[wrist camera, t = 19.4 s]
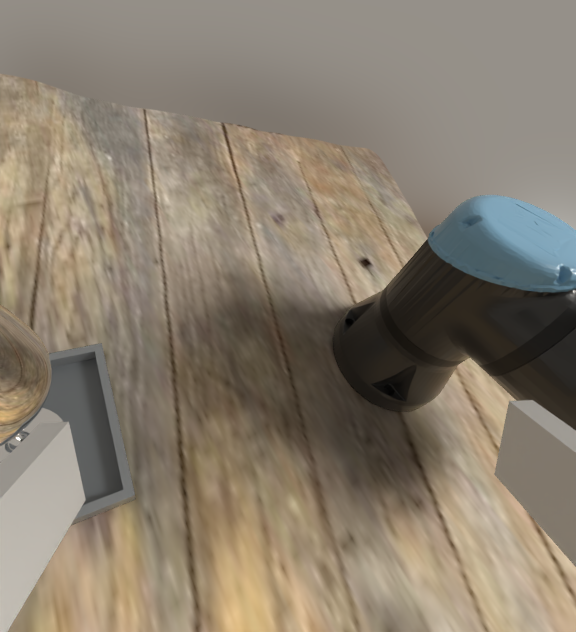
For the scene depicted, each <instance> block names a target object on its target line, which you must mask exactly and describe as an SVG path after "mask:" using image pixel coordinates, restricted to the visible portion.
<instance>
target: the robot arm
mask: <svg viewBox="0 0 576 632" xmlns="http://www.w3.org/2000/svg"><path fill="white" fill-rule="evenodd" d="M333 347H334V353H335V357H336V360H337V363H338V365H339V367H340V370H341V371H342V373H343V375H344V376H345V378H346V379H347V381H348V382H349V383H350V384H351V386H352V387H353V388H354V389H355V390H356V391H357V392H358V393H360V394H361V395H362V396H363V397H364V398H366V399H367V400H369V401H370V402H372V403H374V404H376V405H378V406H380V407H382V408H385V409H388V410H392V411H400V412H405V411H412V410H415V409H418V408H420V407H422V406H423V405H425V404H427V403H428V402H430V401H432V400H433V399H434V398H435V397H436V396H438V394H439V393H440V392H441V391H442V389H443V388H444V386H445V384H446V383H447V381H448V380H449V378H450V377H451V375H452V374H453V372H454V371H455V369H456V367H457V366H458V365H459V364H460V363H462V362H463V361H465V360H466V359H468V358H471V359H472V360H474V361H475V362H476V363H477V364H478V365H479V366H480V367H481V368H482V369H483V370H485V371H486V372H487V373H488V374H489V375H490V376H491V377H492V378H493V379H494V380H495V381H496V382H497V383H498V384H499V385H501V386H502V387H503V388H504V389H505V390H506V391H507V392H508V393H509V394H510V395H511V396H512V397H513V398H514V399H515V400H516V401H509V404H508V409H507V414H506V419H505V424H504V429H503V434H502V439H501V444H500V449H499V454H498V459H497V464H496V469H495V476H496V477H497V478H498V479H499V480H500V481H501V482H502V484H503V485H504V486H505V487H506V488H507V489H508V490H509V491H510V493H511V494H512V495H513V496H514V497H515V498H516V499H517V501H518V502H519V503H520V504H521V505H522V506H523V507H524V509H525V510H526V511H527V512H528V513H529V514H530V515H531V516H532V518H533V519H534V520H535V521H536V522H537V523H538V524H539V526H540V527H541V528H542V529H543V530H544V531H545V532H546V534H547V535H548V536H549V537H550V538H551V539H552V540H553V541H554V543H555V544H556V545H557V546H558V547H559V548H560V549H561V551H562V552H563V553H564V554H565V555H566V556H567V557H568V559H569V560H570V561H571V562H572V563H573V564H574V565H575V566H576V230H574V229H573V228H572V227H571V226H569V225H568V224H566V223H565V222H563V221H562V220H560V219H559V218H557V217H555V216H554V215H552V214H550V213H548V212H546V211H545V210H542V209H541V208H538V207H536V206H534V205H531V204H529V203H526V202H523V201H520V200H517V199H514V198H510V197H505V196H498V195H482V196H476V197H473V198H471V199H468V200H466V201H464V202H463V203H461V204H460V205H459V206H458V207H456V209H455V210H454V211H453V212H452V213H451V214H450V215H449V216H448V217H447V218H446V219H445V220H444V221H443V222H442V223H441V224H440V225H438V226H436V227H435V228H434V229H433V230H432V231H431V232H430V234H429V237H428V239H427V240H426V242H425V243H424V244H423V245H422V246H421V247H420V249H419V250H418V251H417V252H416V253H415V254H414V256H413V257H412V258H411V259H410V260H409V261H408V263H407V264H406V265H405V266H404V267H403V268H402V269H401V270H400V272H399V273H398V274H397V275H396V276H395V277H394V278H393V280H392V281H391V282H390V283H389V284H388V285H387V287H386V288H385V289H384V290H383V291H381V292H379V293H377V294H375V295H373V296H371V297H369V298H367V299H365V300H363V301H361V302H359V303H357V304H355V305H354V306H353V307H351V308H350V309H349V310H348V311H347V312H346V313H345V315H344V316H343V317H342V318H341V320H340V321H339V323H338V324H337V326H336V329H335V332H334V337H333ZM85 500H86V499H85V495H84V490H83V485H82V481H81V476H80V471H79V467H78V462H77V457H76V453H75V448H74V443H73V439H72V434H71V429H70V425H69V422H55V423H40V424H39V425H38V426H37V427H36V428H35V429H34V430H33V431H32V432H31V433H30V434H29V435H28V436H27V437H26V438H25V439H24V440H23V441H22V442H21V443H20V444H19V445H18V446H17V447H16V448H15V449H14V450H13V451H12V452H11V453H10V454H9V455H8V456H7V457H6V458H5V459H4V460H3V461H2V462H1V463H0V632H7V631H8V630H9V628H10V626H11V625H12V623H13V621H14V620H15V618H16V616H17V615H18V613H19V611H20V610H21V608H22V606H23V605H24V603H25V601H26V599H27V598H28V596H29V594H30V593H31V591H32V589H33V588H34V586H35V584H36V583H37V581H38V579H39V578H40V576H41V574H42V573H43V571H44V569H45V568H46V566H47V564H48V562H49V561H50V559H51V557H52V556H53V554H54V552H55V551H56V549H57V547H58V546H59V544H60V542H61V541H62V539H63V537H64V536H65V534H66V532H67V530H68V529H69V527H70V525H71V524H72V522H73V520H74V519H75V517H76V515H77V514H78V512H79V510H80V509H81V507H82V505H83V504H84V502H85Z"/></svg>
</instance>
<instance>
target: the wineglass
mask: <svg viewBox="0 0 576 632" xmlns="http://www.w3.org/2000/svg"><path fill="white" fill-rule="evenodd" d="M52 375H53V373H52V363H51V359H50V356H49V353H48V351H47V349H46V347H45V345H44V344H43V342H42V341H41V339H40V338H39V337H38V336H37V334H36V333H35V332H34V331H33V330H32V329H31V328H30V327H29V326H28V325H26V324H25V323H24V322H23V321H22V320H21V319H19V318H18V317H17V316H16V315H14V314H13V313H12V312H10V311H9V310H8V309H6V308H5V307H4V306H2V305H1V304H0V463H1V462H2V461H3V460H4V459H5V458H6V457H7V456H8V455H9V454H10V453H11V452H12V451H13V450H14V449H15V448H16V447H17V446H18V445H19V444H20V443H21V442H22V441H23V440H24V439H25V438H26V437H27V436H28V435H29V434H30V433H31V432H32V431H33V430H34V429H35V428H36V427H37V426H38V425H39V424H40V423H55V422H63V420H62V419H61V418H60V417H59V416H58V415H57V414H56V413H54V412H53V411H51V410H48V409H45V408H43V406H44V404H45V402H46V400H47V398H48V395H49V392H50V389H51V384H52Z"/></svg>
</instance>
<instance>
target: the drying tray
mask: <svg viewBox="0 0 576 632" xmlns="http://www.w3.org/2000/svg"><path fill="white" fill-rule="evenodd" d="M49 356H50V359H51V363H52V373H53V375H52V384H51V389H50V392H49V395H48V398H47V400H46V402H45V404H44V406H43V408H45V409H48V410H51V411H53V412H54V413H56V414H57V415H58V416H59V417H60V418H61V419H62V420H63V422H69V425H70V429H71V434H72V439H73V443H74V448H75V453H76V457H77V462H78V467H79V471H80V476H81V481H82V485H83V490H84V495H85V499H86V500H85V502H84V504H83V505H82V507H81V509H80V510H79V512H78V514H77V515H76V517H75V519H74V520H73V522H72V524H71V525H73V524H76V523H78V522H81V521H83V520H86V519H88V518H91V517H93V516H96V515H98V514H100V513H103V512H105V511H108V510H110V509H113V508H115V507H118V506H120V505H123V504H125V503H128V502H130V501H133V500H135V493H134V488H133V484H132V479H131V474H130V470H129V465H128V461H127V456H126V452H125V447H124V443H123V438H122V434H121V429H120V424H119V420H118V415H117V411H116V406H115V402H114V397H113V393H112V388H111V384H110V379H109V374H108V370H107V365H106V361H105V356H104V352H103V347H102V343H100V344H95V345H90V346H85V347H80V348H75V349H70V350H65V351H60V352H55V353H50V354H49ZM71 525H70V526H71Z"/></svg>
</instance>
